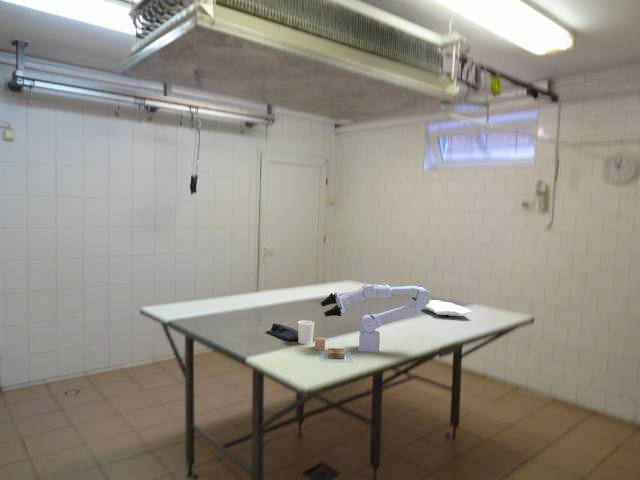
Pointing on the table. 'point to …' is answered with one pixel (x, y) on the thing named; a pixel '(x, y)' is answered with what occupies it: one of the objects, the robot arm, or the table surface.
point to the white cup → (305, 331)
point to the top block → (319, 343)
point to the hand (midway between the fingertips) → (322, 309)
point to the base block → (336, 353)
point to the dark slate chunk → (283, 332)
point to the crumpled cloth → (447, 308)
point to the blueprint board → (325, 359)
